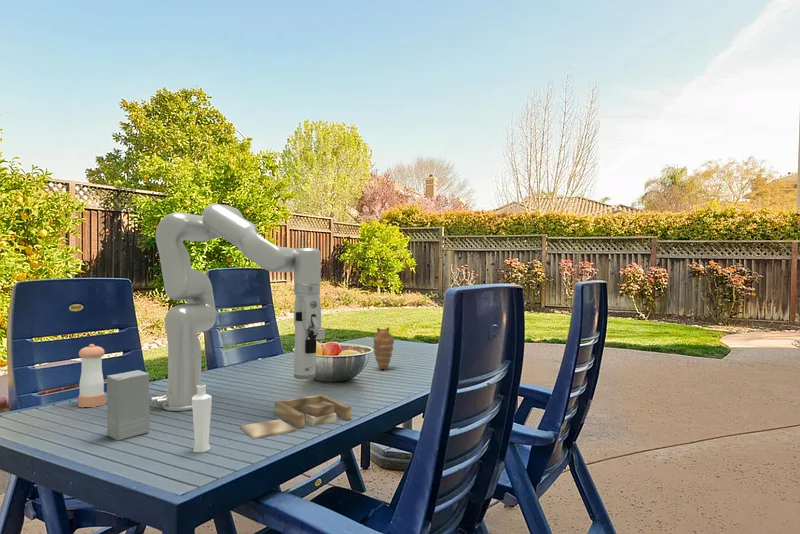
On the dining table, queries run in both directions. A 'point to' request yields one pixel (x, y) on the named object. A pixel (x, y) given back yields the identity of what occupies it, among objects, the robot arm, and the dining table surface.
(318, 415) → the offcut upper
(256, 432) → the cork mat
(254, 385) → the dining table surface
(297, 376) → the travel mug
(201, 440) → the perfume bottle
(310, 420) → the offcut lower
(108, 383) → the skincare box
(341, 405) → the frame
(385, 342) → the cat ice cream
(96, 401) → the pepper shaker
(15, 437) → the dining table surface
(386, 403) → the dining table surface
